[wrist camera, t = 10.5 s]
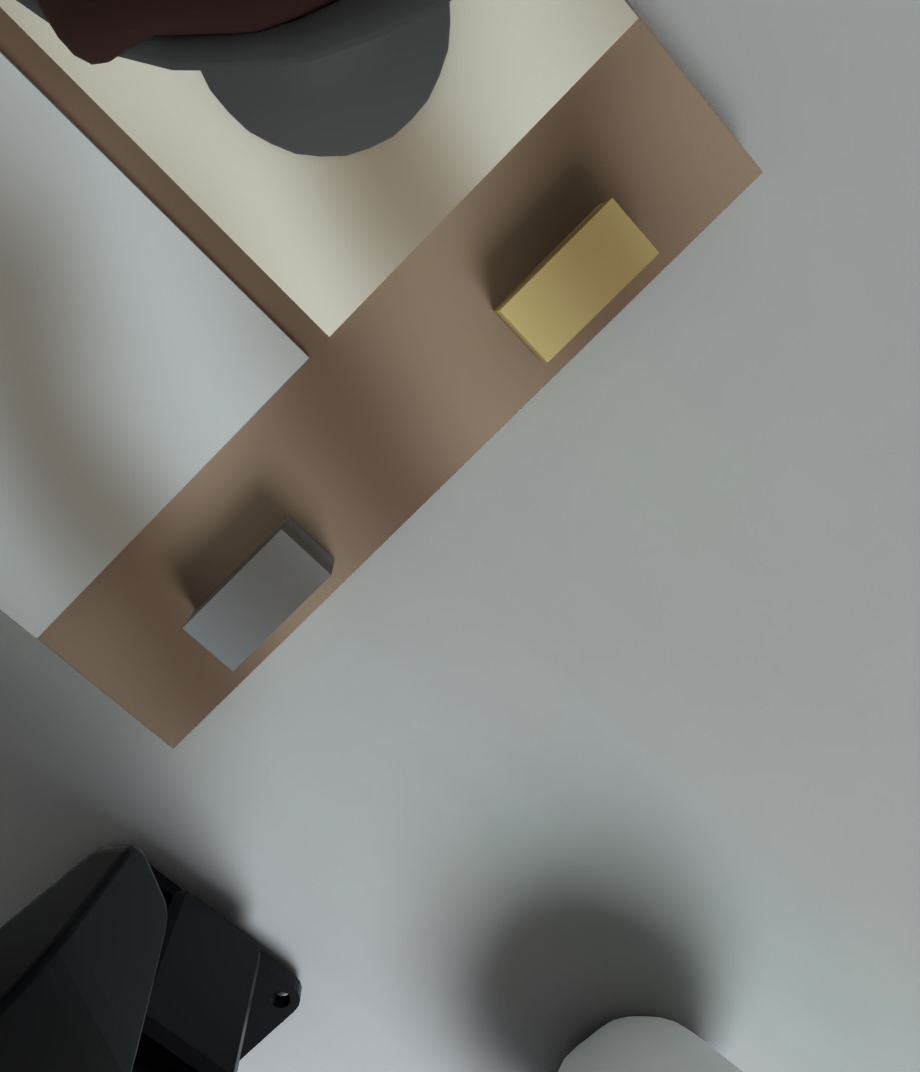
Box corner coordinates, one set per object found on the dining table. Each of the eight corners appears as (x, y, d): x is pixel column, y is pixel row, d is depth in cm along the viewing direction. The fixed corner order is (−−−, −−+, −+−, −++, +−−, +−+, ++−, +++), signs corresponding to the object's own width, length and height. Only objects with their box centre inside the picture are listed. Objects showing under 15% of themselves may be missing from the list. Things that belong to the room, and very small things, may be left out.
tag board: (183, 728, 21) (159, 775, 19) (-341, 299, 18) (-439, 297, 16) (743, 179, 19) (788, 162, 17) (260, -423, 16) (239, -538, 14)
